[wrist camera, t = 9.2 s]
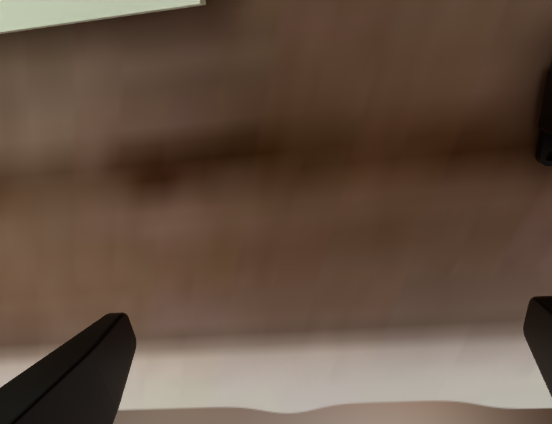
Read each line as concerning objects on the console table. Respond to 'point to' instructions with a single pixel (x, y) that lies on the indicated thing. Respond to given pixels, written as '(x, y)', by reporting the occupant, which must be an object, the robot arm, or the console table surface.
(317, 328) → the console table surface
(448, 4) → the console table surface
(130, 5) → the cover sheet
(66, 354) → the robot arm
